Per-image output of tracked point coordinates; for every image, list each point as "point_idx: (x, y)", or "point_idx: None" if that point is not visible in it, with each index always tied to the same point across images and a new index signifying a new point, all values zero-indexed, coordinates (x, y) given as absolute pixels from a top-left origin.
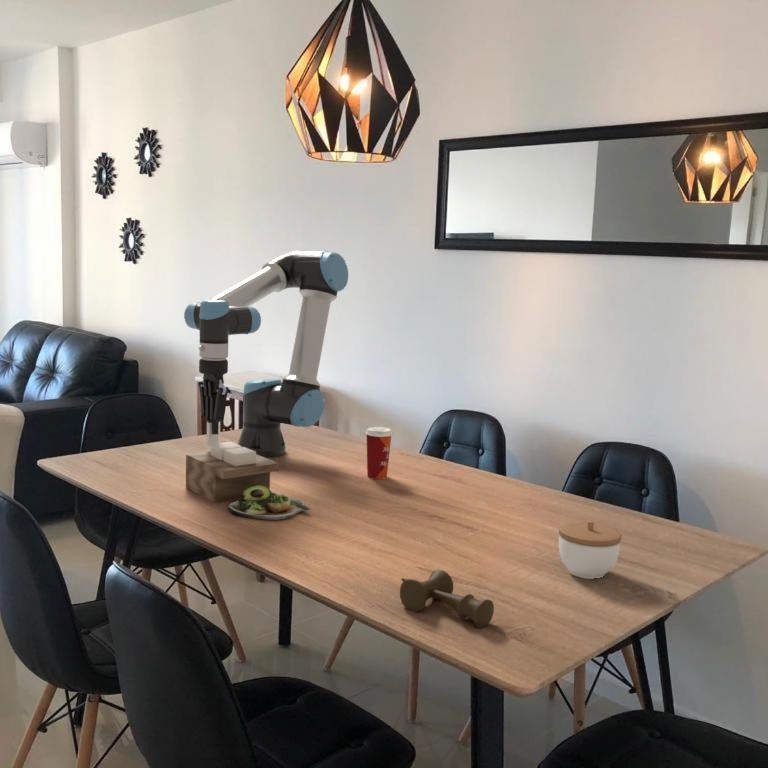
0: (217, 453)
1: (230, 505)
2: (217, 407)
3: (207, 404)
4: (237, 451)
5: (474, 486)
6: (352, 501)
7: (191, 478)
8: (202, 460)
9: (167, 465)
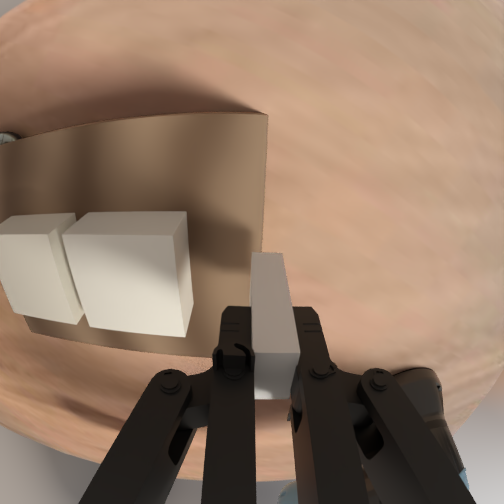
0: (111, 220)
1: (11, 139)
2: (96, 478)
3: (323, 494)
4: (16, 265)
5: (85, 444)
6: (35, 348)
7: (215, 112)
8: (112, 133)
9: (476, 207)
